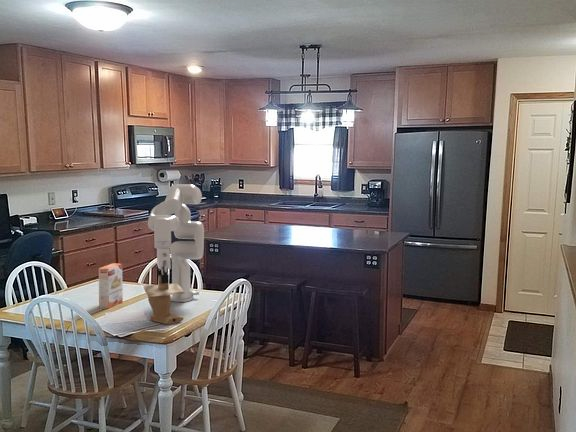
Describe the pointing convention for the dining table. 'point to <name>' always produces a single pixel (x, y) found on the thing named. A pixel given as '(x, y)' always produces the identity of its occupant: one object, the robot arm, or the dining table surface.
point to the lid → (163, 289)
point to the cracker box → (110, 285)
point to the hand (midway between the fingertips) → (163, 280)
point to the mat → (125, 316)
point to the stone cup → (163, 310)
